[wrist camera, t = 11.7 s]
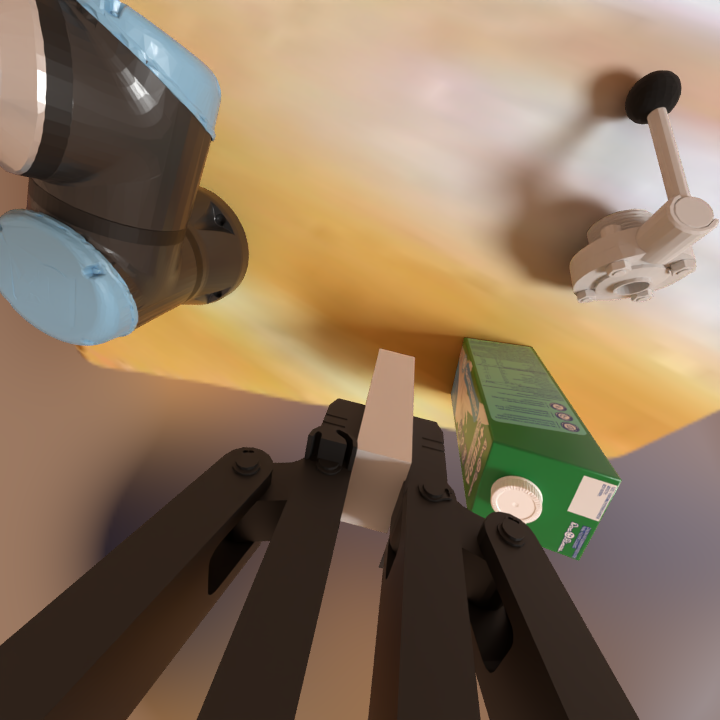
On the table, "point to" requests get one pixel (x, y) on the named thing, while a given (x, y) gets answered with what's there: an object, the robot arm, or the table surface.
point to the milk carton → (527, 447)
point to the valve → (645, 216)
